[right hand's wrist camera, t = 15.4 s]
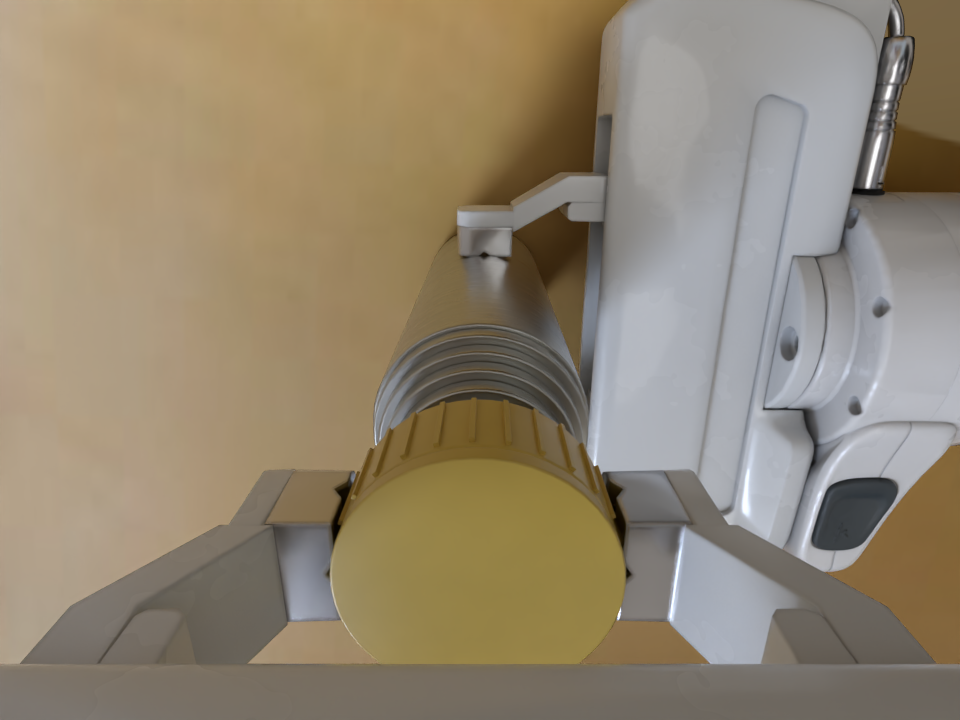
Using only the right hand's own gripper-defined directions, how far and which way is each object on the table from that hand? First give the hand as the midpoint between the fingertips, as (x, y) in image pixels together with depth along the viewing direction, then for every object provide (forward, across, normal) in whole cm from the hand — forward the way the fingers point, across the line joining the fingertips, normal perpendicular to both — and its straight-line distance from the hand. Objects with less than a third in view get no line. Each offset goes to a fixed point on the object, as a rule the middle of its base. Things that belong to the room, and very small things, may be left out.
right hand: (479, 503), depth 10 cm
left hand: (+11, -1, 0) cm, 11 cm away
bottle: (+17, 0, 0) cm, 17 cm away
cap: (-2, 0, 0) cm, 2 cm away
